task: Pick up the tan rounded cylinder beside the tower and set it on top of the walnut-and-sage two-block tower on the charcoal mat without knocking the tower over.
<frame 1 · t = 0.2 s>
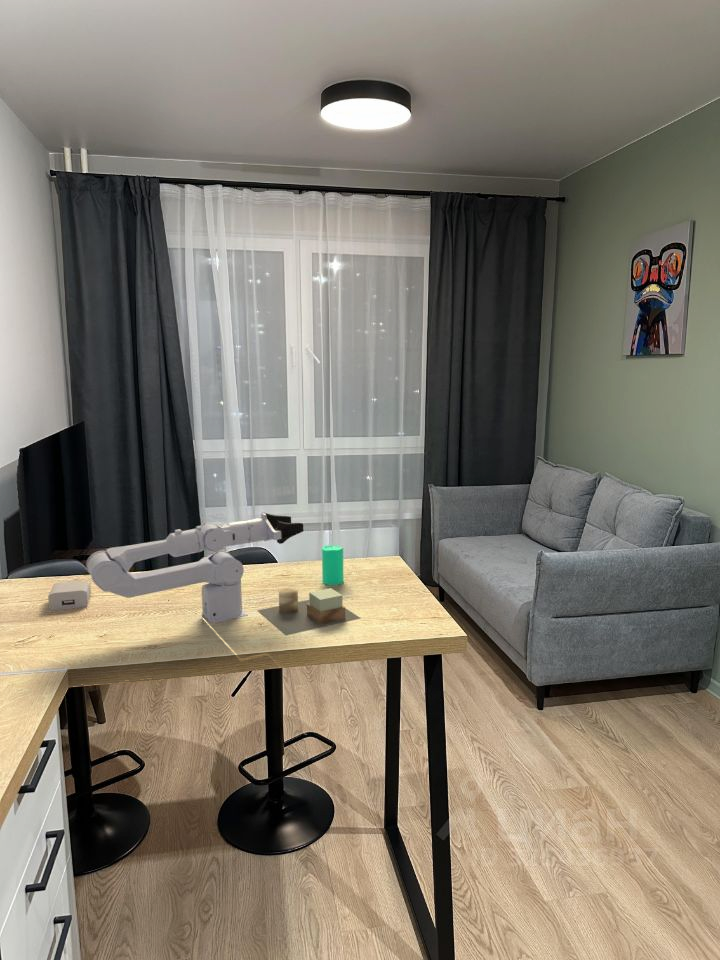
hand: (296, 523, 172), 21 cm above the countertop, tool horizontal, fingers open, 7 cm apart
charger: (72, 600, 179), on the countertop
tan rounded cylinder: (288, 610, 168), resting on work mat
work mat: (308, 616, 165), on the countertop
tower top: (325, 605, 163), point 3 cm above the countertop, touching tower base
candle: (333, 583, 190), on the countertop
tower base: (326, 617, 163), resting on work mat, touching tower top
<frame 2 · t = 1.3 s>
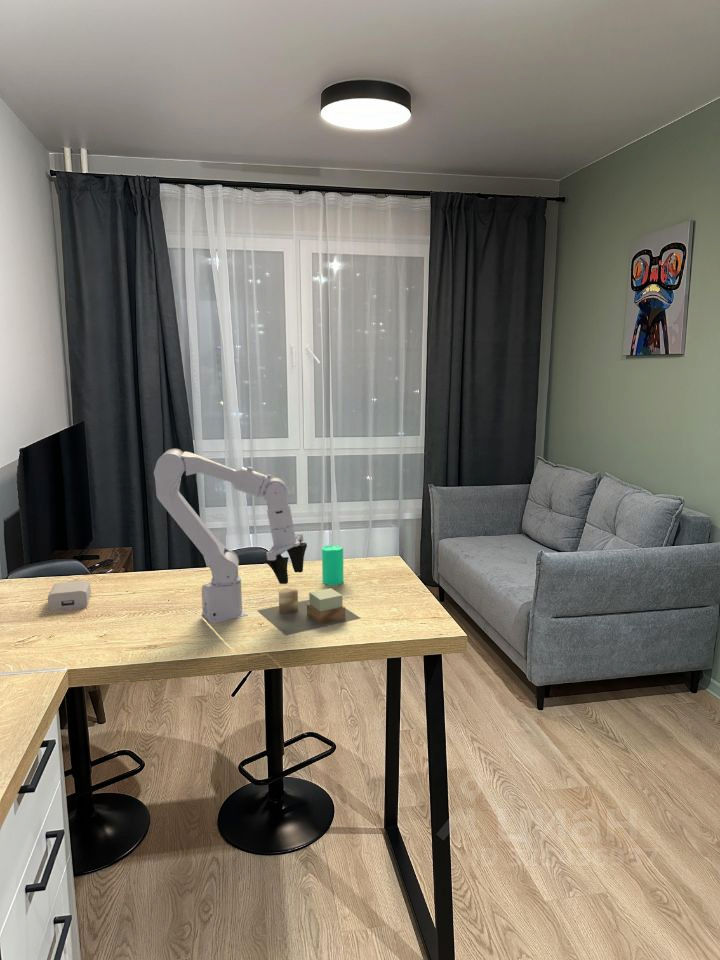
hand: (291, 577, 167), 9 cm above the countertop, tool pointing down, fingers open, 7 cm apart
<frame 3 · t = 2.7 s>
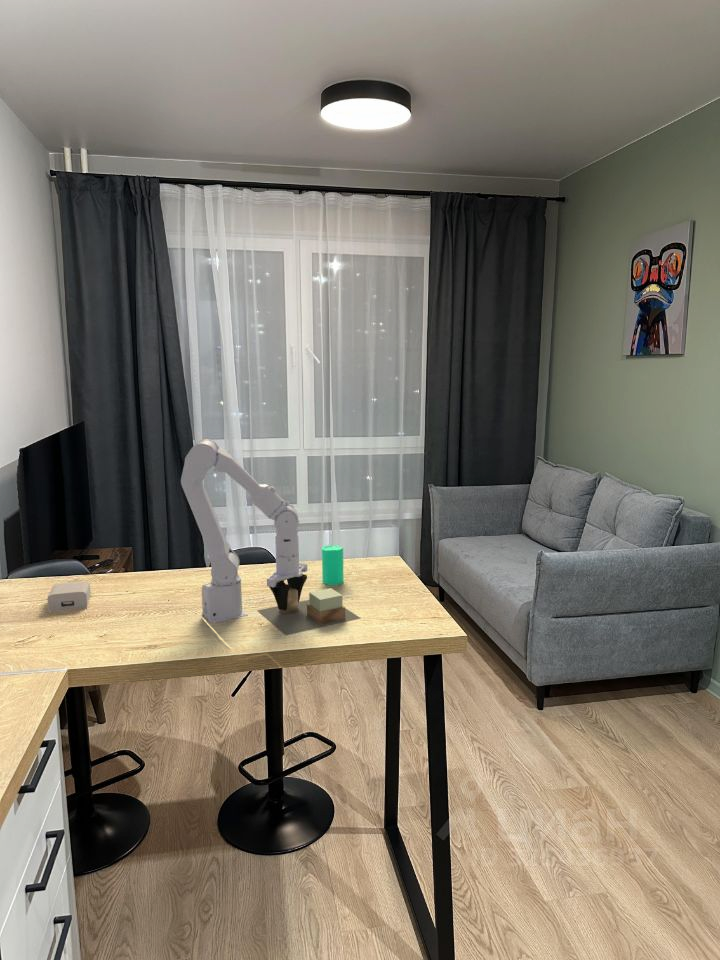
hand: (288, 605, 168), 2 cm above the countertop, tool pointing down, fingers closed on tan rounded cylinder, 5 cm apart
tan rounded cylinder: (288, 610, 168), resting on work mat, touching gripper
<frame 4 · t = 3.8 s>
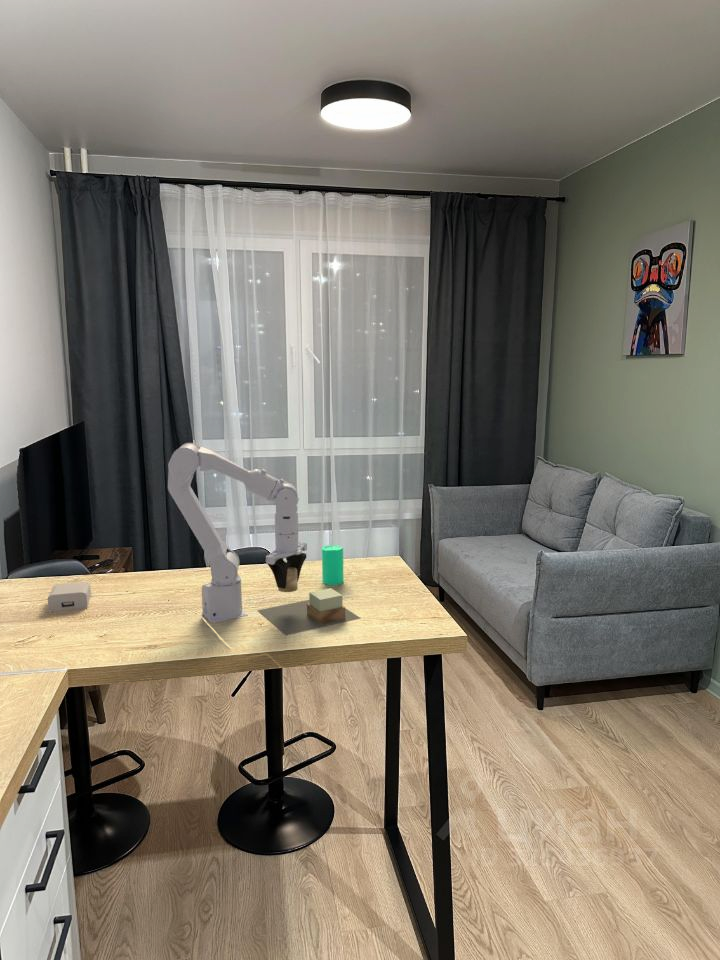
hand: (287, 584, 167), 7 cm above the countertop, tool pointing down, fingers closed on tan rounded cylinder, 5 cm apart
tan rounded cylinder: (287, 588, 167), point 6 cm above the countertop, touching gripper
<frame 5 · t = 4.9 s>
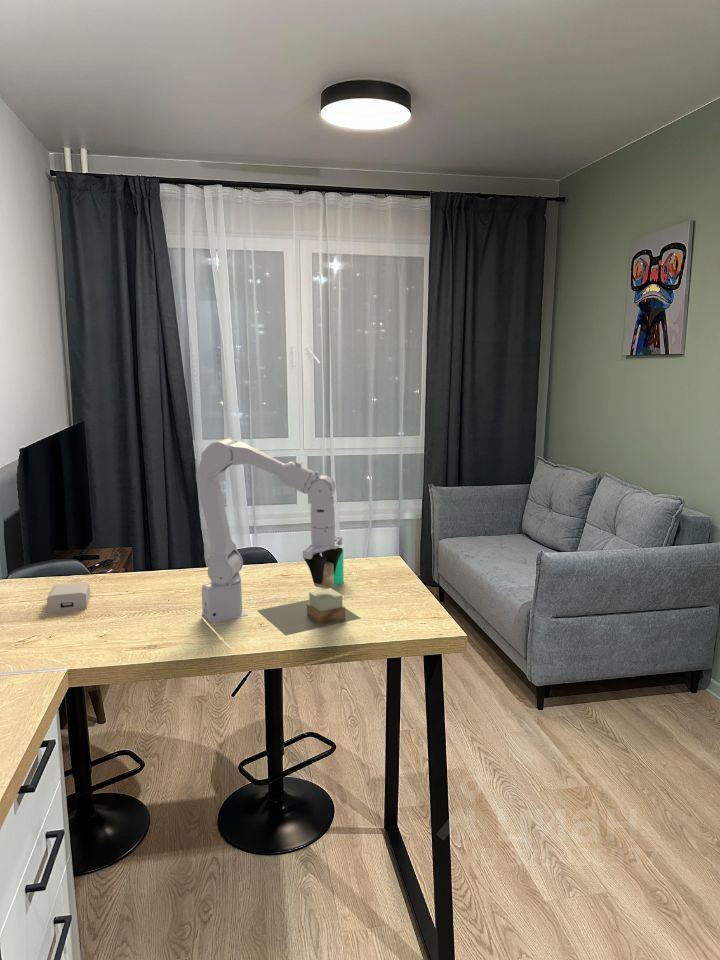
hand: (323, 579, 162), 10 cm above the countertop, tool pointing down, fingers closed on tan rounded cylinder, 5 cm apart
tan rounded cylinder: (323, 584, 162), point 9 cm above the countertop, touching gripper
when the fingers open (9 cm above the countertop, at t = 5.8 s): tan rounded cylinder stays where it is, resting on tower top.
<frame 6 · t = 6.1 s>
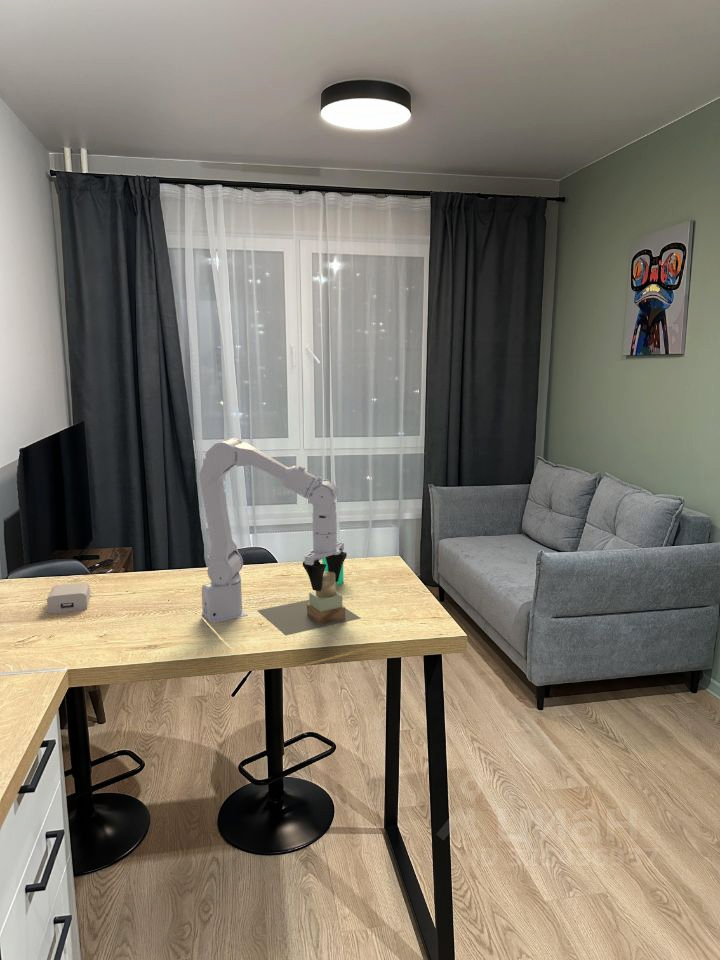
hand: (325, 585, 162), 9 cm above the countertop, tool pointing down, fingers open, 7 cm apart
tan rounded cylinder: (325, 593, 162), point 6 cm above the countertop, touching tower top
tower top: (325, 605, 163), point 3 cm above the countertop, touching tan rounded cylinder, tower base
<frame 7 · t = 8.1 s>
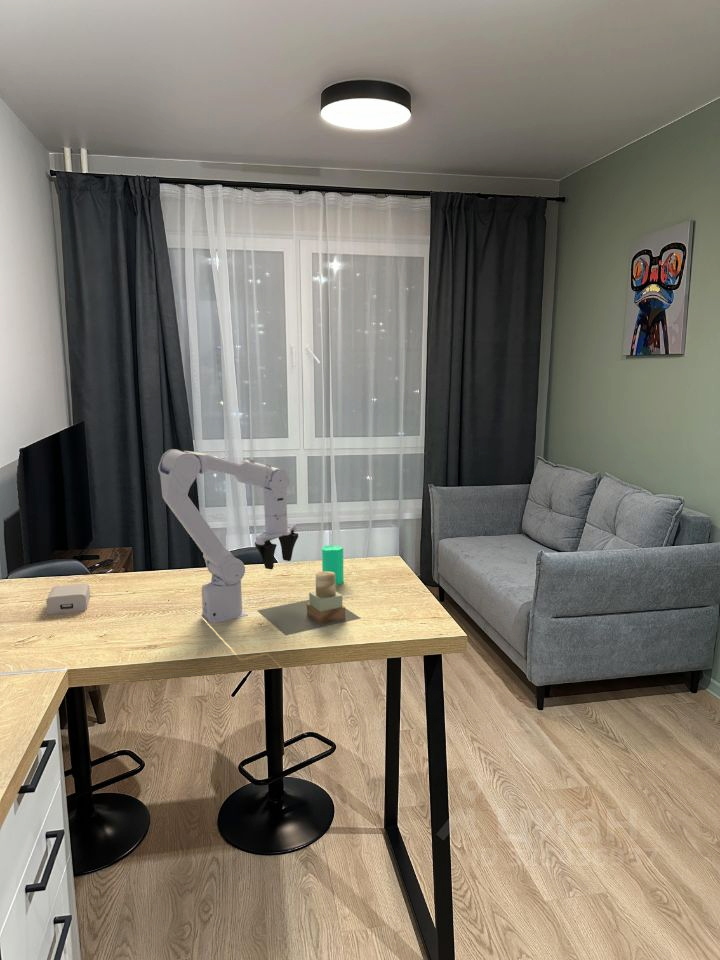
hand: (278, 564, 173), 10 cm above the countertop, tool pointing down, fingers open, 7 cm apart
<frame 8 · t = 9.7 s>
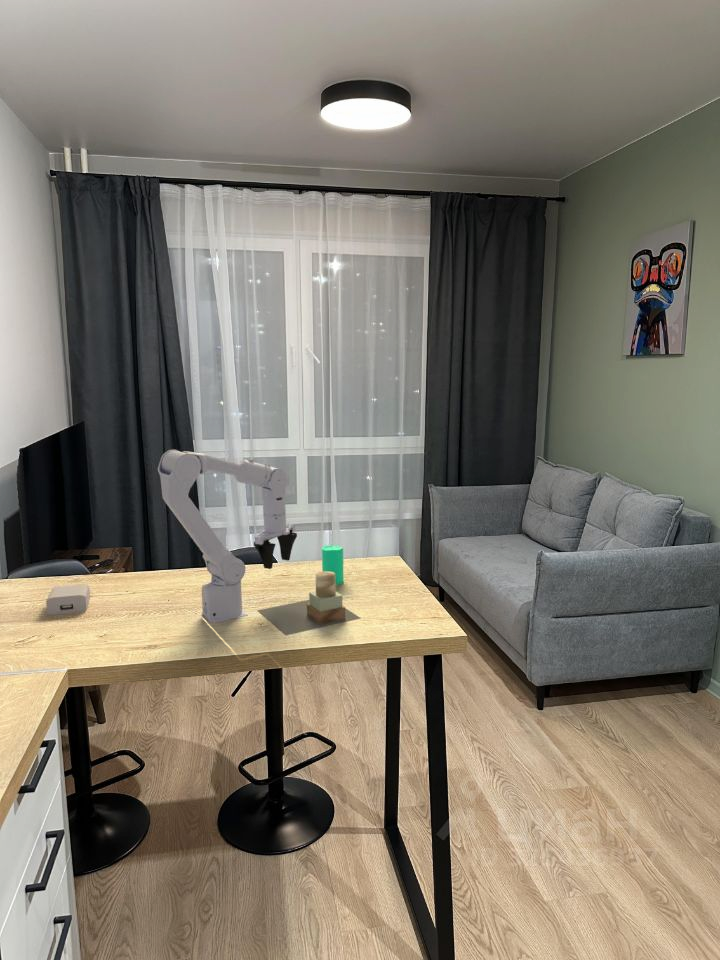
hand: (277, 563, 174), 10 cm above the countertop, tool pointing down, fingers open, 7 cm apart
at the end: tan rounded cylinder 0.1 cm off-centre on the tower top, point 3.0 cm above the tower top's base; tower top 0.0 cm off-centre on the tower base, point 3.0 cm above the tower base's base; tan rounded cylinder tilted 0° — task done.
